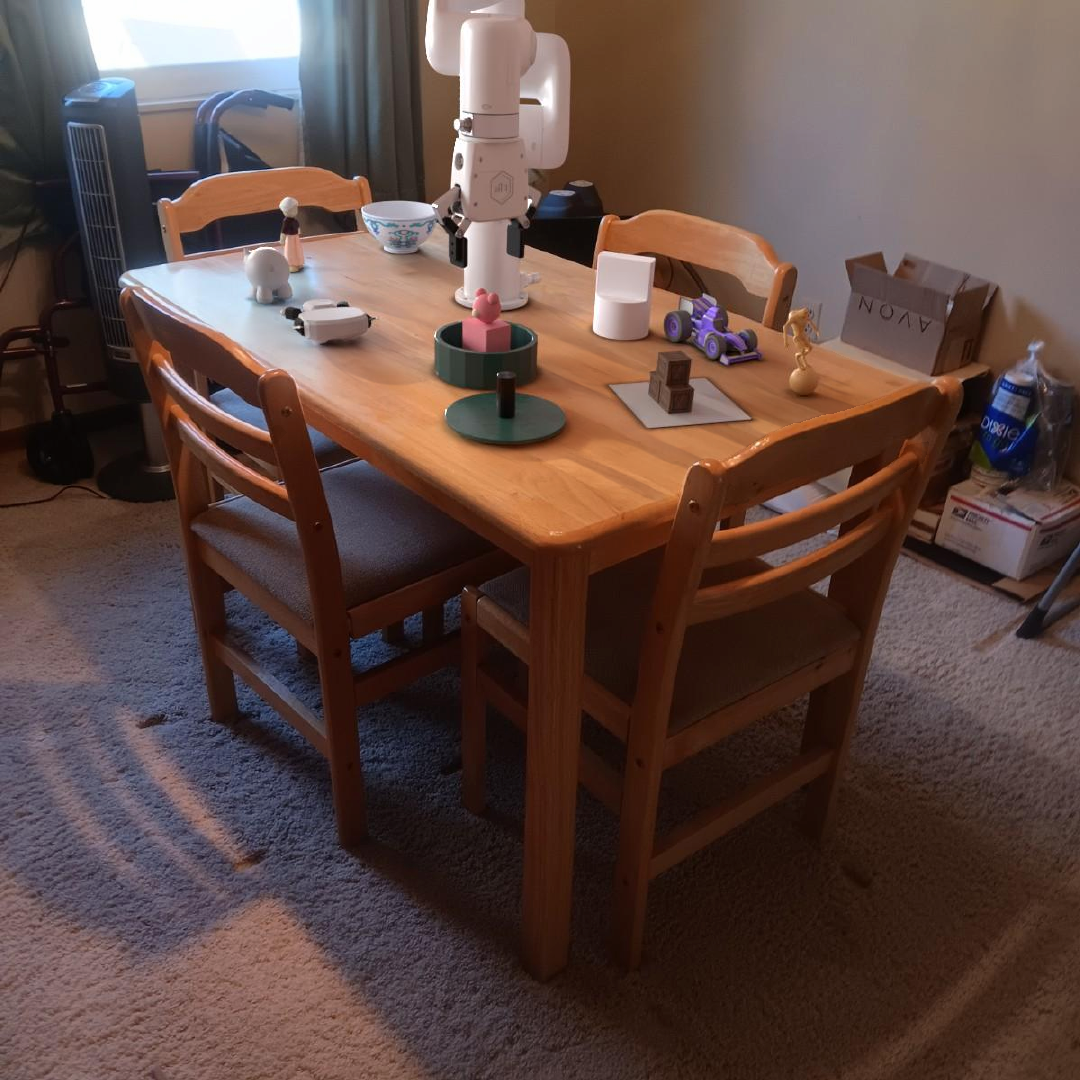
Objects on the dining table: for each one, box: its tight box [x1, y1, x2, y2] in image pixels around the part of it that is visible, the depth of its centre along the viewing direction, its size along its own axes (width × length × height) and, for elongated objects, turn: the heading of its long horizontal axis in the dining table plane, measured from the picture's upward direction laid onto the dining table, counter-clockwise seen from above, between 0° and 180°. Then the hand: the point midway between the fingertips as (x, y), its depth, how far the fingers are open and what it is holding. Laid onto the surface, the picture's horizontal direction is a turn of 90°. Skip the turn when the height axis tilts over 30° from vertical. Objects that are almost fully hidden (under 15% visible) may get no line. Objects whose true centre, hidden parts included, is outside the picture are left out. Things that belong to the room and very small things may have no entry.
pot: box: [433, 319, 539, 391], centre depth 144 cm, size 15×15×5 cm
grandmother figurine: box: [279, 196, 306, 273], centre depth 183 cm, size 8×4×13 cm, turn 179°
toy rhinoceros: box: [242, 245, 293, 304], centre depth 170 cm, size 7×12×8 cm, turn 34°
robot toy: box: [279, 298, 380, 345], centre depth 155 cm, size 12×4×15 cm
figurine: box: [782, 308, 821, 396], centre depth 141 cm, size 8×6×12 cm
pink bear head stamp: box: [462, 288, 511, 352], centre depth 143 cm, size 5×6×12 cm
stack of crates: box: [608, 350, 752, 429], centre depth 137 cm, size 15×15×7 cm
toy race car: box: [663, 292, 763, 366], centre depth 157 cm, size 10×15×6 cm, turn 30°
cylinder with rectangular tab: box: [592, 250, 657, 341], centre depth 161 cm, size 9×9×12 cm
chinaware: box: [360, 200, 438, 255], centre depth 199 cm, size 15×15×8 cm
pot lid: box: [444, 371, 567, 445], centre depth 129 cm, size 16×16×7 cm
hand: (487, 260), depth 137 cm, fingers open, 9 cm apart
